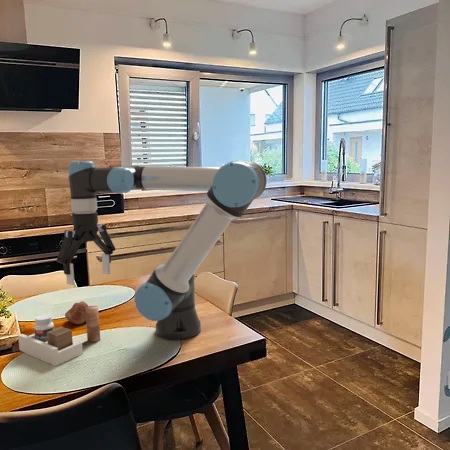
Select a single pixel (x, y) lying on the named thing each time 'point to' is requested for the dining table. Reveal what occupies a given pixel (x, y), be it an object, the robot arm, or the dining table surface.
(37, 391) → the dining table surface
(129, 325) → the dining table surface
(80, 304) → the fossil
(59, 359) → the white open tray
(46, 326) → the pill bottle
